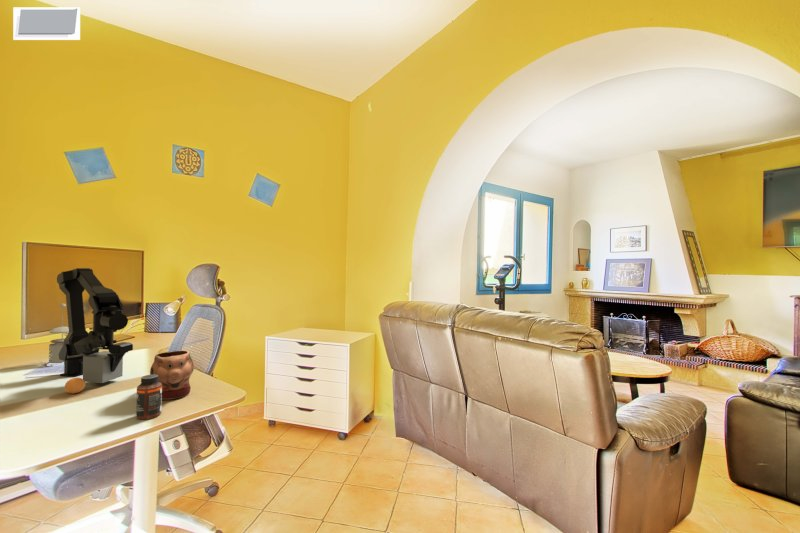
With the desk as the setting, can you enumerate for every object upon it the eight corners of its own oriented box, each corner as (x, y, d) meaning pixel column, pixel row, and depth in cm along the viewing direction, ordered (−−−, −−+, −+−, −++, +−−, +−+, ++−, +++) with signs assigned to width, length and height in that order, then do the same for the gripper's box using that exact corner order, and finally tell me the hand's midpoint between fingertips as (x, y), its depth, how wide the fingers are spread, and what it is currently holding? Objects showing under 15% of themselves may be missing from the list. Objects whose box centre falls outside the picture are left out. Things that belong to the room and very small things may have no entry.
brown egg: (72, 374, 119) (77, 386, 121) (57, 384, 114) (63, 396, 116) (86, 374, 118) (91, 386, 120) (72, 384, 114) (77, 397, 116)
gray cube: (82, 381, 124) (83, 356, 124) (103, 374, 131) (104, 350, 131) (102, 383, 123) (102, 357, 123) (122, 376, 131) (122, 352, 130)
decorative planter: (144, 390, 122) (145, 349, 122) (184, 382, 130) (185, 344, 130) (156, 407, 107) (157, 361, 107) (201, 398, 116) (202, 355, 116)
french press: (40, 367, 143) (41, 305, 143) (54, 359, 154) (55, 302, 154) (71, 365, 147) (72, 304, 147) (83, 358, 158) (84, 301, 158)
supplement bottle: (166, 412, 105) (167, 373, 104) (150, 421, 99) (151, 380, 99) (147, 410, 105) (148, 372, 105) (130, 419, 99) (131, 378, 99)
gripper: (56, 329, 120) (55, 376, 120) (105, 332, 118) (104, 379, 118) (88, 324, 131) (87, 366, 131) (134, 326, 129) (133, 369, 129)
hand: (102, 370), depth 127 cm, fingers closed on gray cube, 8 cm apart
